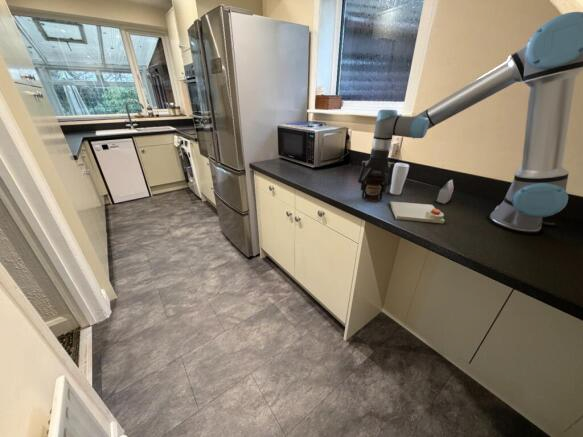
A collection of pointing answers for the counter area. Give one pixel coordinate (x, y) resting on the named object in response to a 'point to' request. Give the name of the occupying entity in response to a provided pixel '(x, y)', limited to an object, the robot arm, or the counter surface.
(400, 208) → the scale
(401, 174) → the drinking glass
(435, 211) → the button
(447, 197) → the grey tapered block
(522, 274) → the counter surface
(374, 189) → the coffee cup
